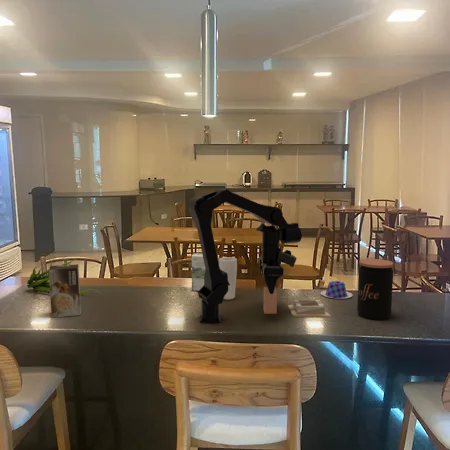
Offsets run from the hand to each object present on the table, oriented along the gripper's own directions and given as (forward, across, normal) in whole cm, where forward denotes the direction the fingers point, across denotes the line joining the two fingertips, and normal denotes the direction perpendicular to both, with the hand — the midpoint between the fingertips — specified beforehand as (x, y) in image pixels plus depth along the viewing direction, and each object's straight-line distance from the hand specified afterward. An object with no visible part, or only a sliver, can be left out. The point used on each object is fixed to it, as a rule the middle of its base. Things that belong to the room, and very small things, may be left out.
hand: (269, 290), depth 147 cm
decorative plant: (+8, +22, +78) cm, 81 cm away
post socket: (+8, 0, -13) cm, 15 cm away
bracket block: (+8, 0, 0) cm, 8 cm away
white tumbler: (+8, +16, +14) cm, 23 cm away
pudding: (+8, +20, -28) cm, 35 cm away
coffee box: (+8, -2, +68) cm, 68 cm away
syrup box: (+8, +28, +25) cm, 38 cm away
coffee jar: (+8, -4, -34) cm, 35 cm away
